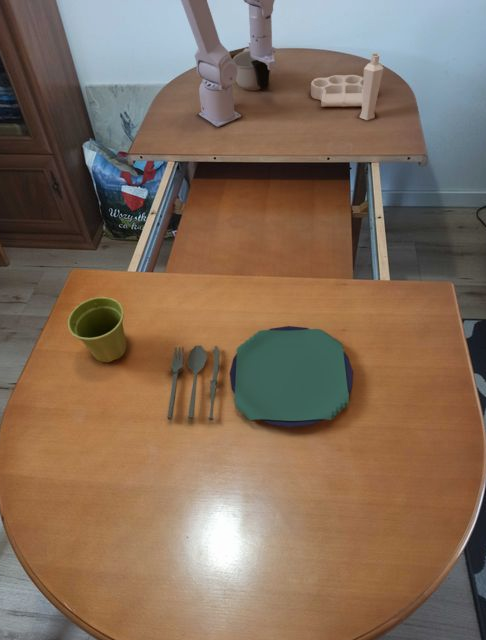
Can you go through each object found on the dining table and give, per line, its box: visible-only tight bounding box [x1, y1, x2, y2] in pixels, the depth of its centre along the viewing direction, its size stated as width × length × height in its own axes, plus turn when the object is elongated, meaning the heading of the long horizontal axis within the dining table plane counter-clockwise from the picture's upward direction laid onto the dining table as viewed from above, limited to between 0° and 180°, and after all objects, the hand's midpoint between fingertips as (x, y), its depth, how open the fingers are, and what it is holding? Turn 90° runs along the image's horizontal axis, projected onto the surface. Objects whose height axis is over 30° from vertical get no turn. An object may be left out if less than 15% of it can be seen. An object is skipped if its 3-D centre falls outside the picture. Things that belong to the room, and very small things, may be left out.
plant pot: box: [67, 296, 128, 363], centre depth 85 cm, size 9×9×9 cm
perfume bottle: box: [359, 52, 385, 121], centre depth 125 cm, size 5×4×15 cm
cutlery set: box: [166, 325, 354, 429], centre depth 81 cm, size 20×30×2 cm, turn 87°
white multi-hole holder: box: [310, 74, 364, 108], centre depth 137 cm, size 3×18×15 cm
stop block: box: [228, 46, 249, 60], centre depth 152 cm, size 3×10×5 cm, turn 111°
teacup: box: [233, 48, 272, 91], centre depth 144 cm, size 14×11×8 cm
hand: (262, 86), depth 141 cm, fingers closed, pressing on teacup
